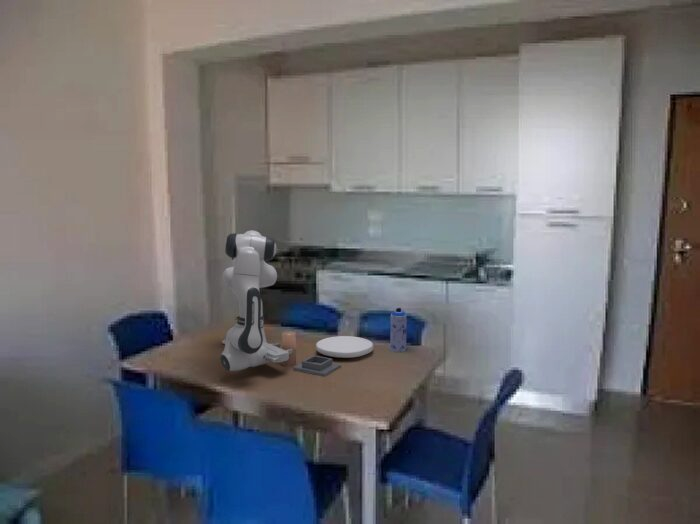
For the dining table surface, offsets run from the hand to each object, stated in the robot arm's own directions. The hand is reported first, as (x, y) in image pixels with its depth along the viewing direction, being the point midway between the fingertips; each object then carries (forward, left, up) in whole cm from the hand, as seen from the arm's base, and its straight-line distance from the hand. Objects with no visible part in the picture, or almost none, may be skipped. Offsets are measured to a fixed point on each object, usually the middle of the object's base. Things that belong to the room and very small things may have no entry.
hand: (285, 348), depth 259 cm
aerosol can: (+34, +44, -8) cm, 56 cm away
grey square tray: (+15, +3, -8) cm, 17 cm away
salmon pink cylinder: (+1, +2, -8) cm, 8 cm away
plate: (+14, +28, -8) cm, 32 cm away
